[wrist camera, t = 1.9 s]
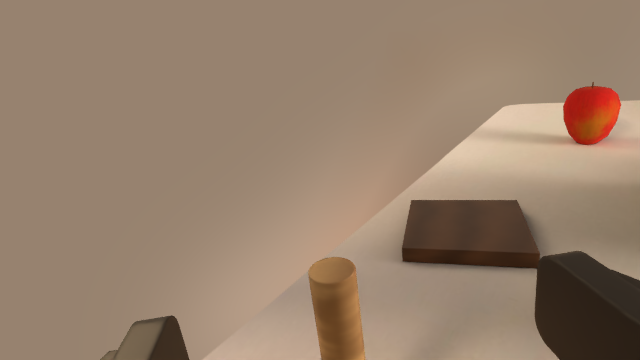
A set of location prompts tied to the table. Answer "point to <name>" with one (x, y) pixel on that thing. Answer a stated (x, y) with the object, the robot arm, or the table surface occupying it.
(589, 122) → the apple
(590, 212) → the table surface
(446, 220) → the board
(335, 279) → the wooden peg stand
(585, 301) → the robot arm
